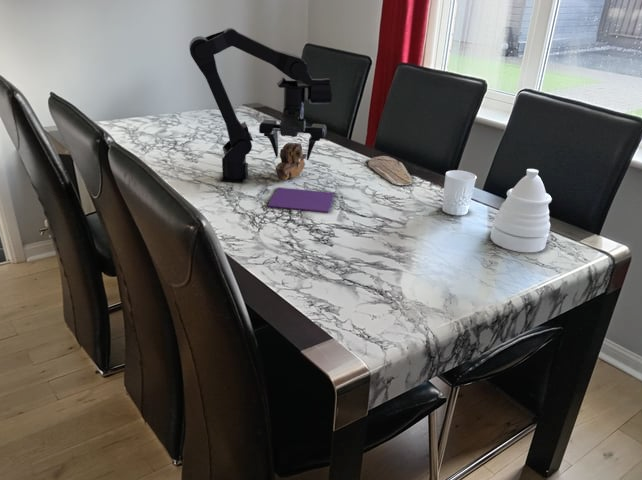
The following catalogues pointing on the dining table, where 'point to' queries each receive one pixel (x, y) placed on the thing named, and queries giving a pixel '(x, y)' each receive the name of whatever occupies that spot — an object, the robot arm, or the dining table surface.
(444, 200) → the white cup
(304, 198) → the cloth
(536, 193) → the honey pot
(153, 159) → the dining table surface
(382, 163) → the fish fossil
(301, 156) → the wooden carving
